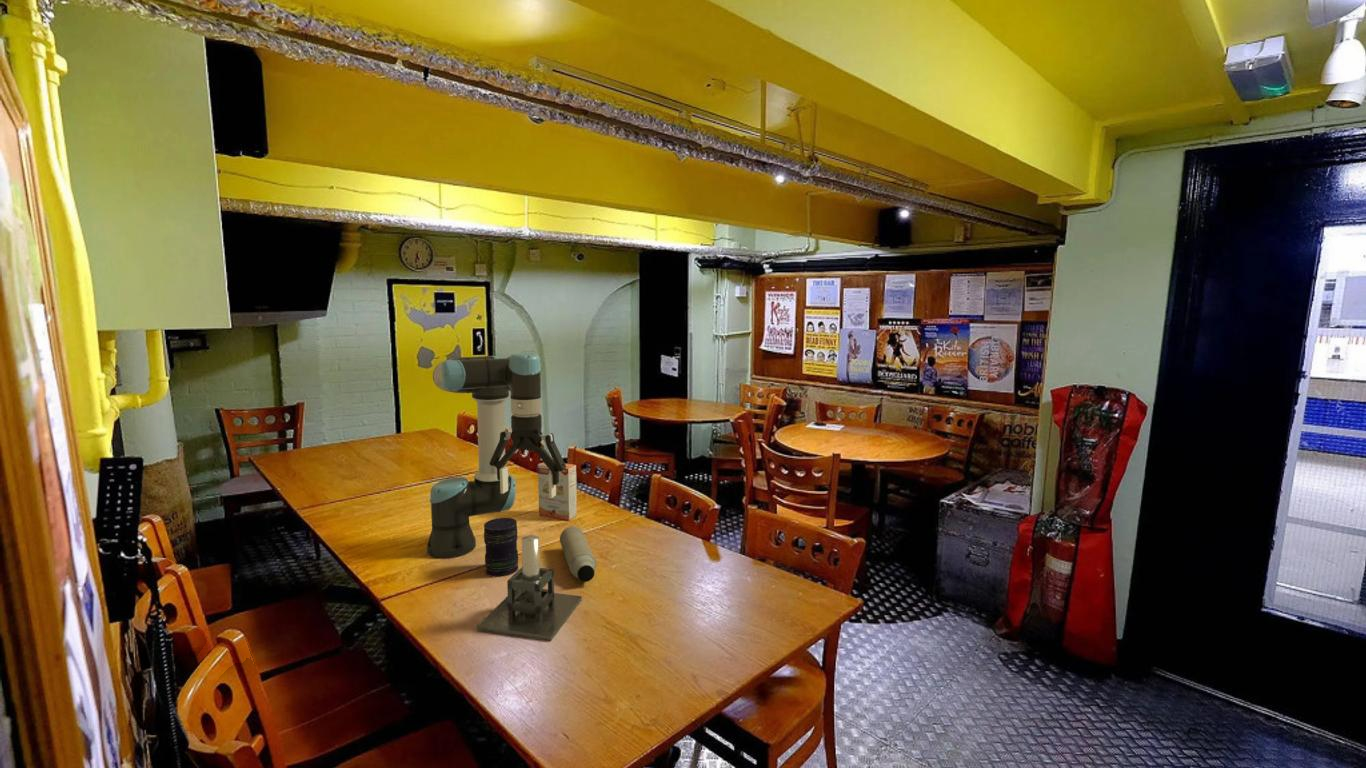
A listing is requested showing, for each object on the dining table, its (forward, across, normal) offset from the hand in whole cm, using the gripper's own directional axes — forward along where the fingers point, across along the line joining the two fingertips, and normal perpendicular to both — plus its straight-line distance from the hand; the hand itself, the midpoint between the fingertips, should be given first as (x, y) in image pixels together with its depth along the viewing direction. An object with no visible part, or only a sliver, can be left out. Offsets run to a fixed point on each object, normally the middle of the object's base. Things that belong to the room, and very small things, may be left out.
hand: (528, 494), depth 149 cm
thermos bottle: (+29, -5, +40) cm, 49 cm away
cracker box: (+34, -22, +66) cm, 77 cm away
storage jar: (+33, -20, +20) cm, 44 cm away
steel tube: (+31, +1, -2) cm, 31 cm away
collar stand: (+33, +1, -2) cm, 33 cm away
